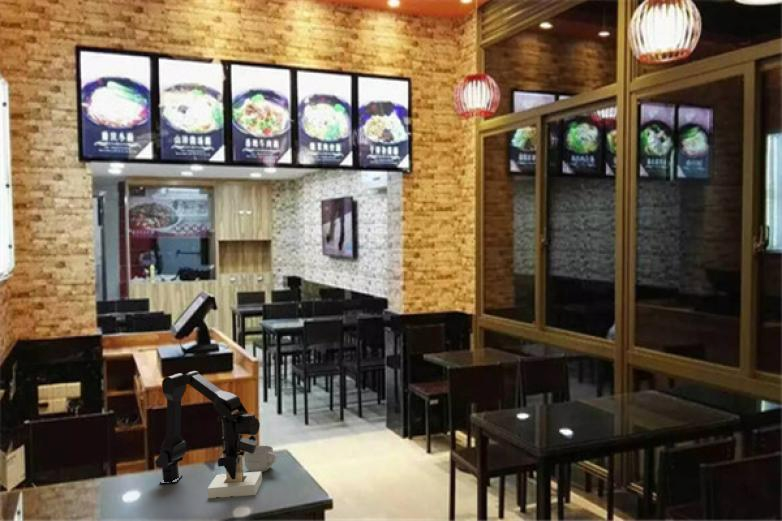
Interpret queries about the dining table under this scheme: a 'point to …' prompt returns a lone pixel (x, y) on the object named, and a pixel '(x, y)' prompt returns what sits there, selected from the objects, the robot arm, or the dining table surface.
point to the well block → (235, 485)
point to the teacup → (260, 459)
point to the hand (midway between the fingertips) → (234, 476)
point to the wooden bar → (239, 472)
